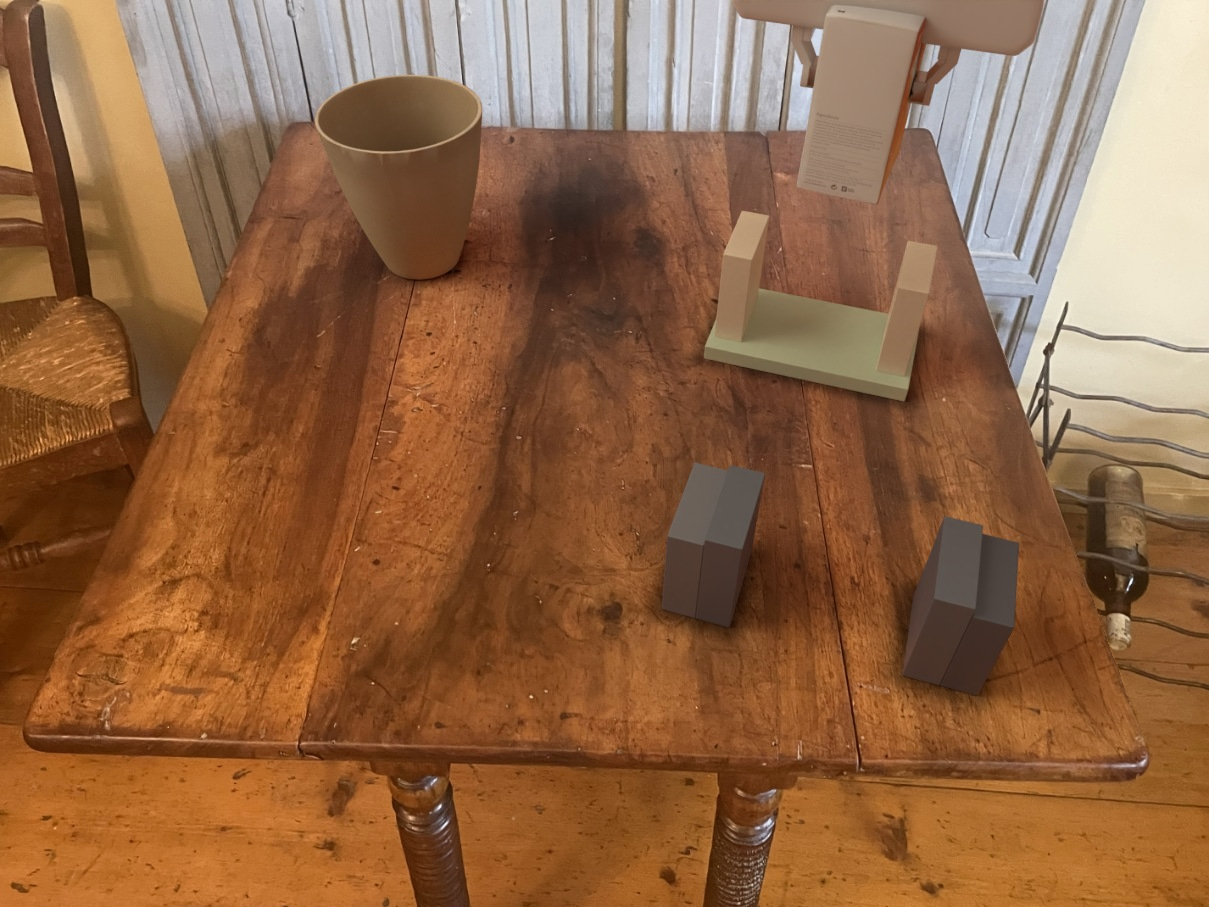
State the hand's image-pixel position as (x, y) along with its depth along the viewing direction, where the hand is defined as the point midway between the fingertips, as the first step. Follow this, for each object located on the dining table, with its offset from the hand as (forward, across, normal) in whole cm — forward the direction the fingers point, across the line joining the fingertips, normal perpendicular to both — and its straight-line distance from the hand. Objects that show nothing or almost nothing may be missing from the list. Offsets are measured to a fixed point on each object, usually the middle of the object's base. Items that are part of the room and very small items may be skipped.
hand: (864, 92), depth 71 cm
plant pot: (+26, +40, -3) cm, 48 cm away
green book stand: (+25, 0, -2) cm, 25 cm away
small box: (+7, 0, 0) cm, 7 cm away
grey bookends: (+25, -6, +27) cm, 37 cm away
